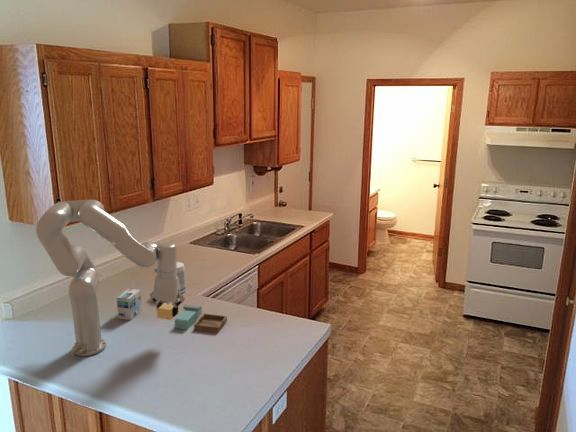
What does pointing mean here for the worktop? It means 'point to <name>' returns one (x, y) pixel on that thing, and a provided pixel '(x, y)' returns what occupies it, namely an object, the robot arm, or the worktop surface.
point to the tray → (210, 323)
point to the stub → (165, 311)
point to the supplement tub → (181, 276)
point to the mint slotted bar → (188, 316)
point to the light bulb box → (129, 304)
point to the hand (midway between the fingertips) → (167, 313)
